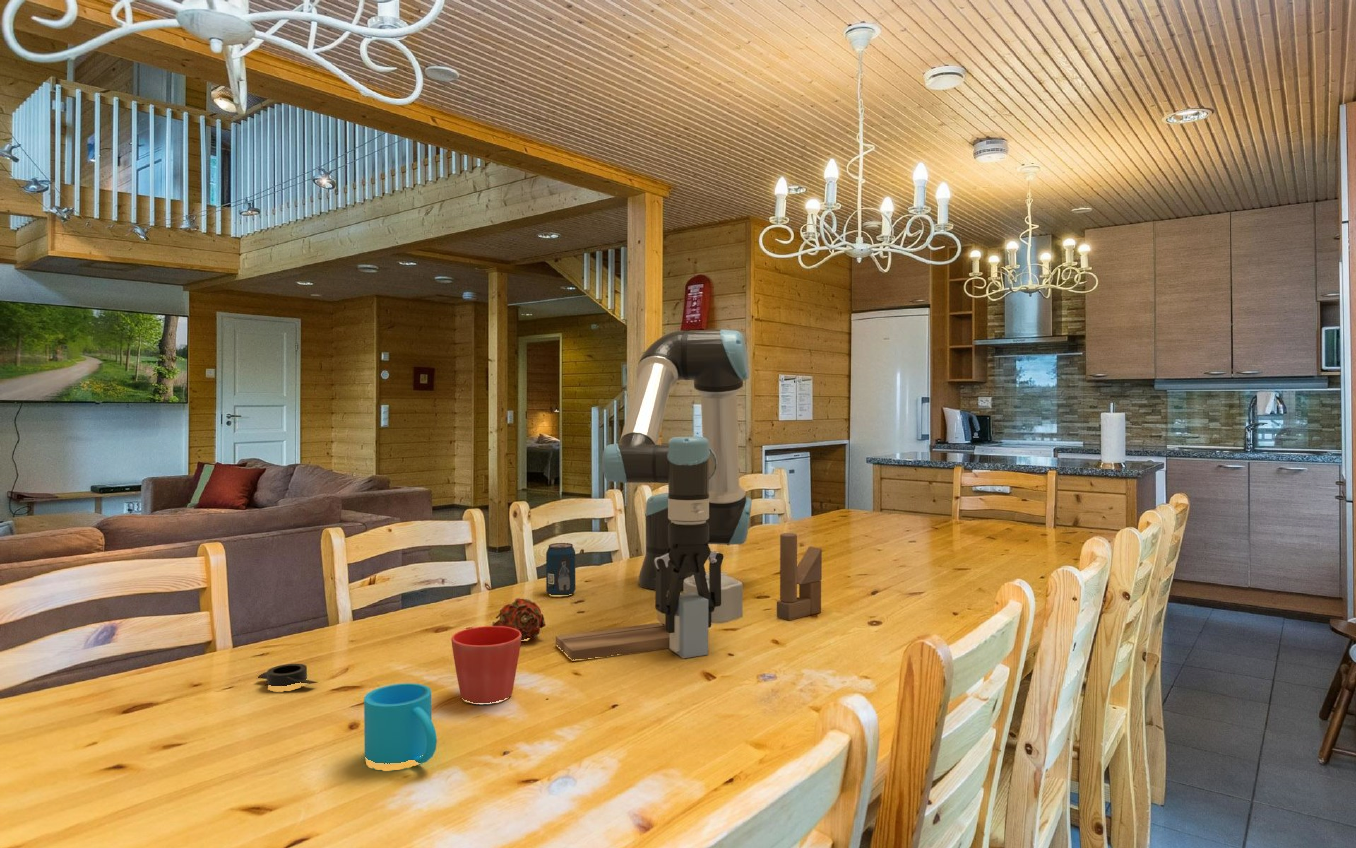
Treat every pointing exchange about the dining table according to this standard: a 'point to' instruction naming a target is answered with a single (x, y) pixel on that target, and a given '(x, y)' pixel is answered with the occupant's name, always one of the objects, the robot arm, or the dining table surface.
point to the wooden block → (799, 580)
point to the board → (614, 641)
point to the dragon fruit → (522, 617)
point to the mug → (399, 724)
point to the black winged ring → (286, 675)
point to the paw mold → (722, 597)
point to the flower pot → (486, 662)
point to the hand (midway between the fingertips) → (688, 647)
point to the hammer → (691, 625)
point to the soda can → (560, 569)
